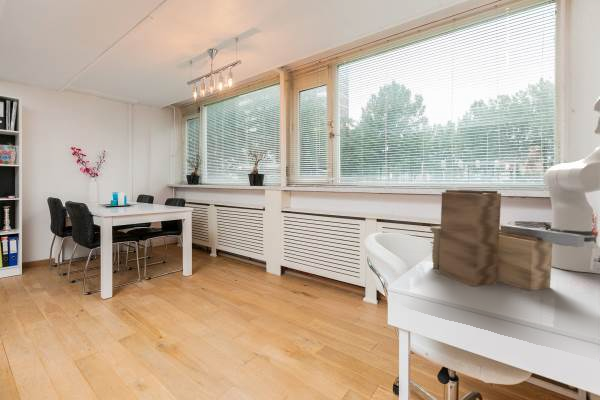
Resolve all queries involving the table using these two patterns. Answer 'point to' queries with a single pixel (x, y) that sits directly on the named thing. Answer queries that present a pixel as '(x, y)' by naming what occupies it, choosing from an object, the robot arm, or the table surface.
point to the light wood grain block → (524, 261)
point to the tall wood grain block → (470, 236)
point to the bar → (546, 235)
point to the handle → (436, 246)
